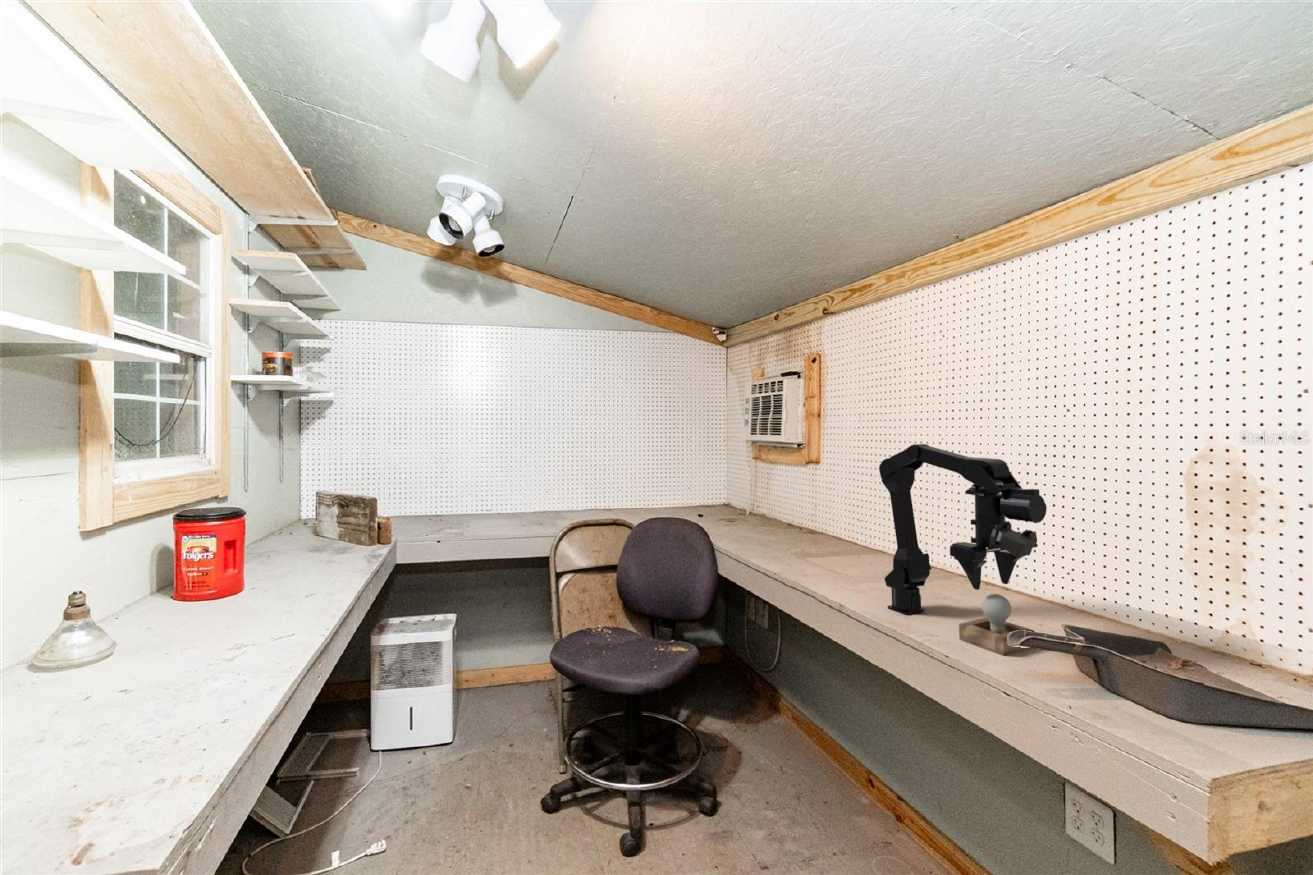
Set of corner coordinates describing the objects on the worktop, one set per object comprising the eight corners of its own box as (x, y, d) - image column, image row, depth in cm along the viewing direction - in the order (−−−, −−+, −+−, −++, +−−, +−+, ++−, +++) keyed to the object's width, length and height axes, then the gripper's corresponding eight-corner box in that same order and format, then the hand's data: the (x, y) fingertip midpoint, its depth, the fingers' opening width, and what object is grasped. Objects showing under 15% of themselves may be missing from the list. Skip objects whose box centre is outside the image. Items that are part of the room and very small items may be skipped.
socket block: (959, 639, 121) (959, 623, 121) (989, 631, 125) (989, 616, 125) (1003, 655, 112) (1003, 638, 112) (1034, 646, 116) (1034, 630, 116)
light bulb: (978, 640, 119) (978, 594, 119) (986, 633, 123) (985, 589, 123) (1007, 647, 115) (1007, 600, 115) (1014, 639, 119) (1014, 594, 119)
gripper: (996, 525, 110) (997, 603, 110) (1055, 517, 117) (1056, 590, 117) (947, 517, 120) (948, 588, 120) (1004, 511, 127) (1005, 577, 127)
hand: (991, 586), depth 121 cm, fingers open, 9 cm apart
